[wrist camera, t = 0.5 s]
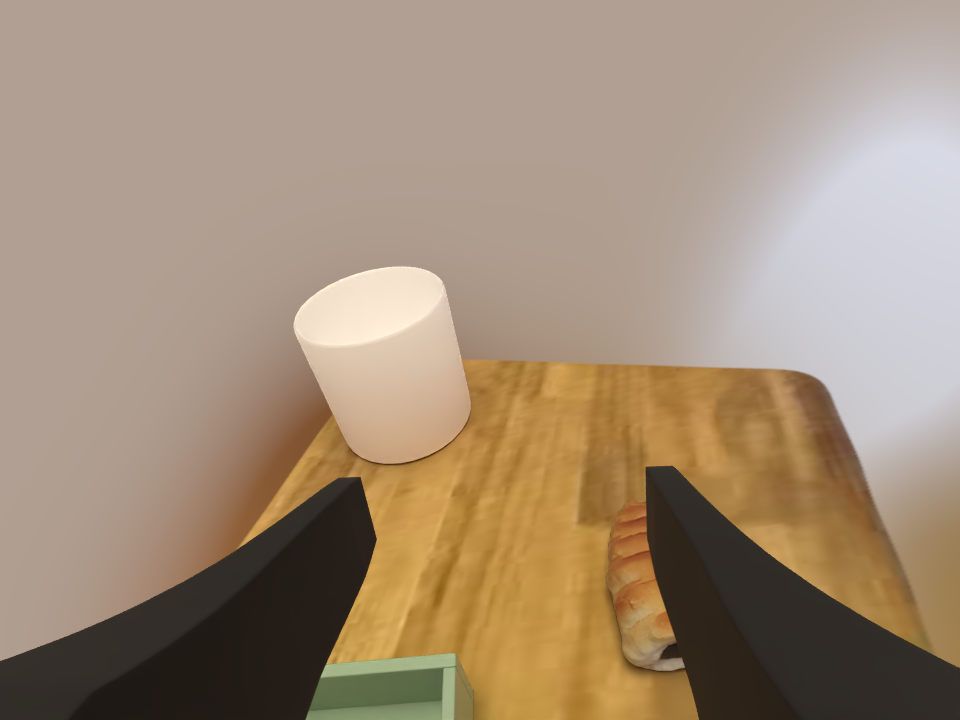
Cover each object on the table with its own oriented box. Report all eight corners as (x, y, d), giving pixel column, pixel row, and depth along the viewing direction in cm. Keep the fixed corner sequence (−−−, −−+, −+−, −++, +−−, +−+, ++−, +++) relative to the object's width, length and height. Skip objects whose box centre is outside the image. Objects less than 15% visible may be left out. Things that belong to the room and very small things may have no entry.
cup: (437, 359, 50) (409, 253, 42) (495, 421, 41) (472, 300, 34) (329, 409, 46) (279, 301, 39) (369, 488, 37) (312, 369, 30)
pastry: (588, 522, 32) (586, 485, 29) (691, 509, 31) (697, 471, 29) (627, 682, 24) (629, 649, 22) (764, 669, 24) (780, 634, 21)
